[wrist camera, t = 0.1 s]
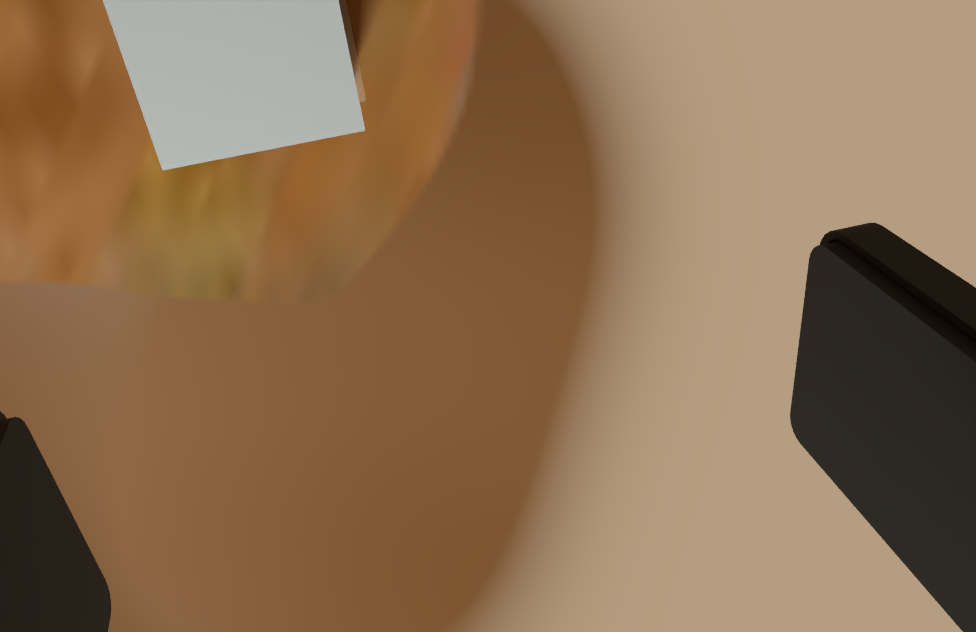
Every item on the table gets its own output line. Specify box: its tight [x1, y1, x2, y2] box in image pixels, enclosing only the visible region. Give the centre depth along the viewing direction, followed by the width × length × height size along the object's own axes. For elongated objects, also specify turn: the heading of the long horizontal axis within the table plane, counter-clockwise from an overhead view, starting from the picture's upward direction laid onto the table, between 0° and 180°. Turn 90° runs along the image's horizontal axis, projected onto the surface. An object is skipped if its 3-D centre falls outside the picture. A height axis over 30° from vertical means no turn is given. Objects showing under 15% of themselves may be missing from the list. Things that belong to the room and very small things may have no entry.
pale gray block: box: [103, 0, 365, 170], centre depth 29 cm, size 7×7×5 cm
